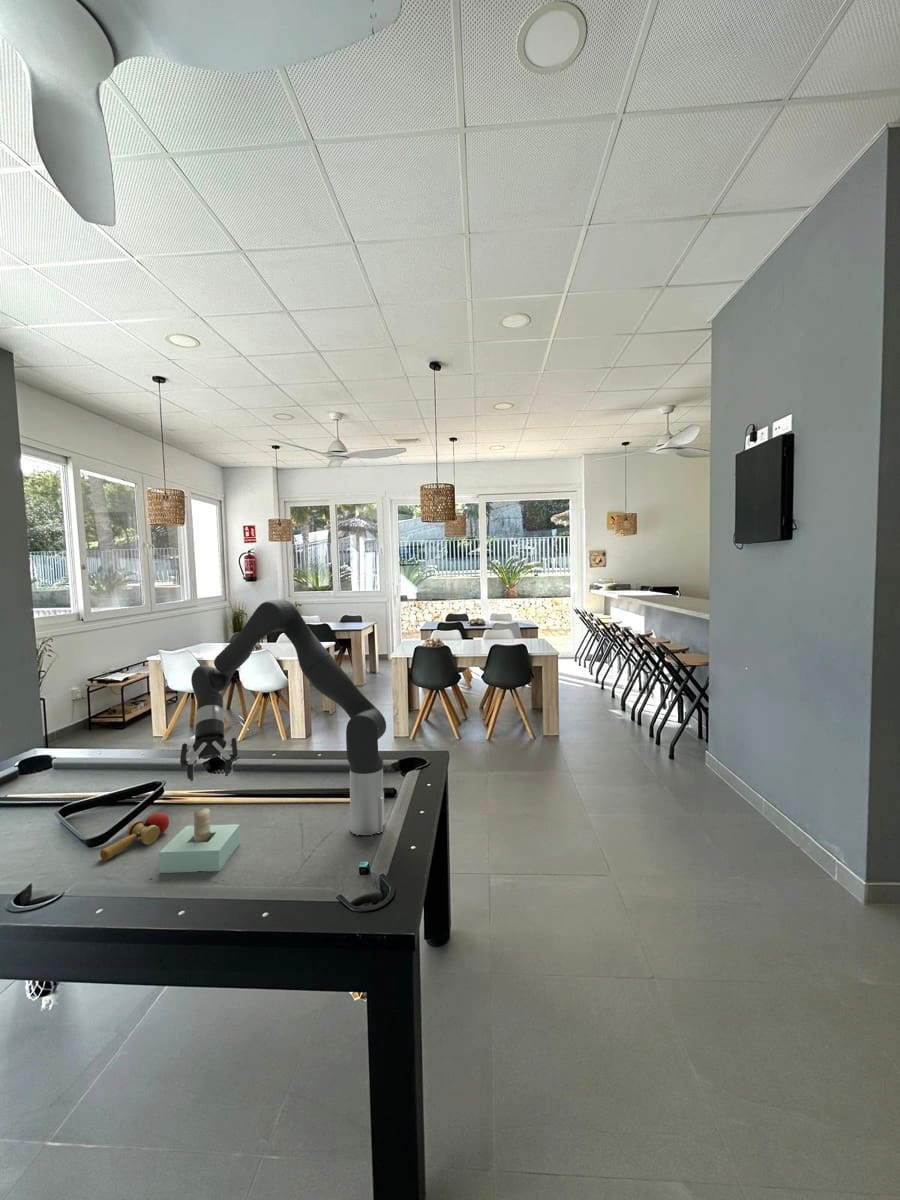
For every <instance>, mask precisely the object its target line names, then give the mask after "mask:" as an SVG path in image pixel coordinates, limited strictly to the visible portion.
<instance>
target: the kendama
mask: <svg viewBox="0 0 900 1200" xmlns="http://www.w3.org/2000/svg"><path fill="white" fill-rule="evenodd" d="M169 825H170V819H169V817H168V815H167V814H166V813H164V812H154V813H152V814H150V816H148V817H147V818H146V819H145V822H144V821H143V820H139V819H138V820H134V821H133V822H131V823H130V824H129V826H128V827H127V830H126V834H127V836H126V837H124V838H122V839H120V840H118V841H116V842H114V843H112V844H110V845H109V846H107V847H105V848H103V849H101V850H100V853H99V855H100V858H101V859H102V860H103V861H105V860H106V862H107V861H109V860H111V859H112V858H113V857H114V856H116V855H117V854H119V853H120V852H121V851H123V850H124V849H126V848H127V847H129V846H130V845H131V844H132V843H133V842H135V841H136V840H137V839H139V838H140V842H141V843H142V844H144V845H147V846H149V845H151V844H153V843H155V842H156V841H157V839H158V838H159V836H161V835H162V834H164V833H165V832H166V831H167V829H168V827H169Z"/></svg>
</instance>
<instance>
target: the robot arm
mask: <svg viewBox="0 0 900 1200" xmlns="http://www.w3.org/2000/svg"><path fill="white" fill-rule="evenodd" d="M277 632H282V633H283V634H284V635H285V636H286V638H287V639H288V640H289V641H290V642H291V644H292V645H293V647H294V648H295V653H296V655H297V661H298V664H299V668H300V669H301V672H302V674H303V675H304V676H305V677H306V679H307V680H308V681H309V683H310V684H311V685H312V686H313V687H314V688H315V690H317V691H318V692H319V693H320V694H322V695H323V696H325V697H326V698H328V699H330V700H331V701H333V702H334V703H336V704H337V705H339V706H340V707H341V708H342V709H343V710H344V712H346V714H347V715H348V717H349V720H348V722H347V725H346V730H345V744H346V758H347V761H348V764H349V815H350V816H349V818H350V819H349V827H350V830H351V831H350V833H351V832H352V833H351V834H353V833H354V834H356V835H355V836H358V835H371V834H374V833H378V832H381V831H383V832H384V827H383V825H384V826H385V792H384V791H385V790H384V760H383V757H382V756H381V755H380V754H379V742H378V741H379V740H380V738H382V737H383V736H384V734H386V731H387V723H386V719H385V717H384V715H383V713H381V711H380V710H379V709H378V708H377V707H376V706H375V705H374V704H373V703H372V702H371V700H369V699H368V698H367V697H366V696H365V695H364V694H363V693H362V692H361V691H360V690H359V689H358V688H357V686H356V684H355V683H354V682H353V681H352V679H351V678H350V676H349V675H348V674H346V672H345V671H344V670H343V669H342V667H341V666H340V664H339V663H338V662H337V660H336V659H335V657H333V655H332V654H330V652H329V651H328V650H327V649H326V648H325V646H324V645H323V643H321V641H320V640H319V638H318V637H317V636H316V635H315V633H314V632H313V631H312V630H311V628H310V627H309V626H308V624H307V623H306V621H305V620H304V618H303V617H302V614H301V613H300V612H299V610H298V609H297V607H296V606H295V605H294V604H293V603H292V602H291V601H289V600H287V599H283V598H282V599H273V600H266V601H264V602H262V603H260V605H258V606H257V608H256V609H255V610H254V611H253V613H252V614H251V616H250V618H249V619H248V621H247V622H246V623H245V624H244V626H243V627H242V629H241V630H240V631H239V632H238V634H237V635H236V636H235V637H234V638H233V639H232V640H231V642H229V643H228V645H227V646H226V647H224V648H223V650H222V651H221V652H219V653H218V654H217V656H216V657H215V658H214V660H213V665H214V667H212V666H210V665H206V664H201V665H198V666H196V667H195V669H194V670H193V672H192V674H191V687H192V691H193V693H194V696H195V699H196V716H195V724H194V725H195V728H194V729H195V732H194V735H195V736H194V743H192V744H187V743H186V742H184V743H183V744H182V745H181V752H180V761H179V763H180V768H182V769H183V768H187V774H186V776H187V780H189V781H190V782H192V781H193V782H194V774H195V773H194V767H195V766H196V764H198V763H199V762H200V761H201V759H203V760H207V759H215V758H217V757H218V758H220V760H223V761H224V775H225V777H229V774H231V772H232V768H231V766H232V765H231V764H232V762H237V761H238V760H239V759H238V755H239V754H238V747H237V738H235V737H232V738H231V739H230V740H229V739H228V740H225V715H224V699H223V695H222V694H221V692H223V691H224V690H225V689H226V688H227V687H228V685H229V684H230V681H231V680H232V677H233V676H234V674H235V672H236V671H237V670H238V669H239V668H240V667H241V666H243V665H244V664H245V662H246V661H247V660H248V659H249V658H250V656H251V655H252V653H253V651H254V649H255V646H256V645H257V644H258V643H259V642H260V641H261V640H262V639H264V638H265V637H267V636H268V635H269V634H271V633H277ZM227 746H228V748H229V749H231V751H232V754H231V755H230V754H229V753H228V752H227V751H226V750H225V748H226V747H227ZM192 750H193V751H194V753H193V754H192V756H191V758H190V759H188V760H187V757H188V754H190V753H191V751H192ZM354 834H353V835H354ZM378 834H379V833H378ZM371 836H372V835H371Z"/></svg>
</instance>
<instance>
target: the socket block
mask: <svg viewBox="0 0 900 1200" xmlns="http://www.w3.org/2000/svg"><path fill="white" fill-rule="evenodd" d="M240 843H241V824H210V841H209V842H196V843H194V825H185V826H184V828H182V830H180V831H179V832H178V833H177V834H176V835H175V836H174V837H173V838H172V839H171V840H170V841H169V842H168V843H167V844H166V845H165V846H164V847H163V848H162V849H161V850H160V851H159V852H158V853H159V854H158V856H159V857H158V858H159V859H158V861H159V862H158V863H159V867H158V868H159V874H171V873H172V874H173V873H198V872H197V871H204V872H206V871H207V872H220V871H221V870H222V869H223V867H224V866H225V864H226V863H227V861H228V860H229V859H230V857H231V856H232V855H233V853H234V852H235V851H236V849H237V848H238V847H239V845H240Z"/></svg>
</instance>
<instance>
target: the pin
mask: <svg viewBox="0 0 900 1200" xmlns="http://www.w3.org/2000/svg"><path fill="white" fill-rule="evenodd" d="M210 819H211V810H210V808H207V807H205V808H204V807H203V808H199V809H197V810H195V811H194V812H193V826H194V843H196V842H209V841H210V825H211V820H210Z"/></svg>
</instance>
